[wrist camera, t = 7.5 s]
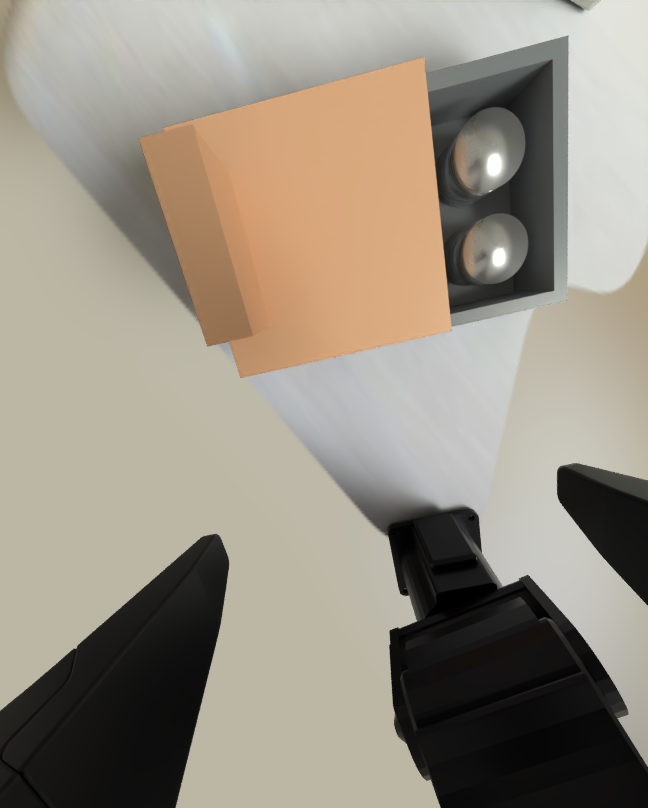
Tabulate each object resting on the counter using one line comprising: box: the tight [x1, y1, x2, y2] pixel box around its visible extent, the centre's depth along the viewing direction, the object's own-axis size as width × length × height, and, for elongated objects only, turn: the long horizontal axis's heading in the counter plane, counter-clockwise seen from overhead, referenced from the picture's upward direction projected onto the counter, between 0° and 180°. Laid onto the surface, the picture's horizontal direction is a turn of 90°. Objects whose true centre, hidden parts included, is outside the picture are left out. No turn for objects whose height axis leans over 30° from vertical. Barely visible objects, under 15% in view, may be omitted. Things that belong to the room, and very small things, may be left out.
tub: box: [426, 36, 568, 327], centre depth 16 cm, size 10×10×4 cm
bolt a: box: [443, 213, 528, 286], centre depth 17 cm, size 3×3×3 cm
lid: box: [139, 57, 452, 378], centre depth 12 cm, size 10×10×5 cm
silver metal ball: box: [435, 107, 525, 208], centre depth 16 cm, size 3×3×3 cm
